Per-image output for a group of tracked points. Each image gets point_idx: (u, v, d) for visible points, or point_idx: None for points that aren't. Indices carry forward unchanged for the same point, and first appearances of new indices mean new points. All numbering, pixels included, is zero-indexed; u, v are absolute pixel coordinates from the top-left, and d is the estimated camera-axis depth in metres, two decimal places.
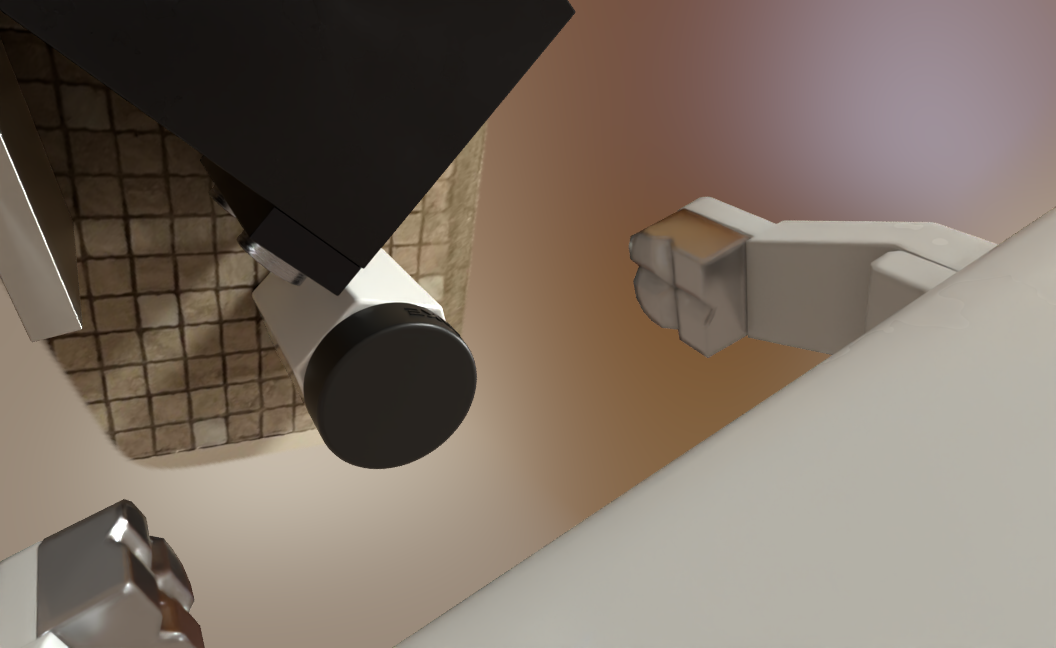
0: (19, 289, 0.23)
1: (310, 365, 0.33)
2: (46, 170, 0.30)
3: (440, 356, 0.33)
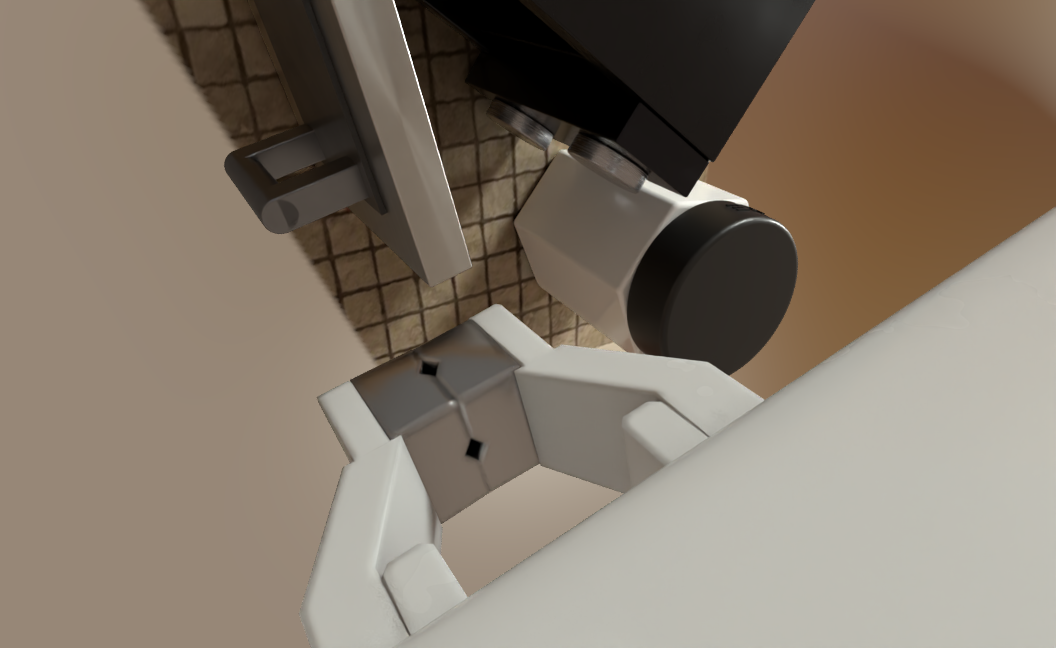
0: (422, 230, 0.21)
1: (636, 282, 0.30)
2: None
3: (770, 252, 0.30)
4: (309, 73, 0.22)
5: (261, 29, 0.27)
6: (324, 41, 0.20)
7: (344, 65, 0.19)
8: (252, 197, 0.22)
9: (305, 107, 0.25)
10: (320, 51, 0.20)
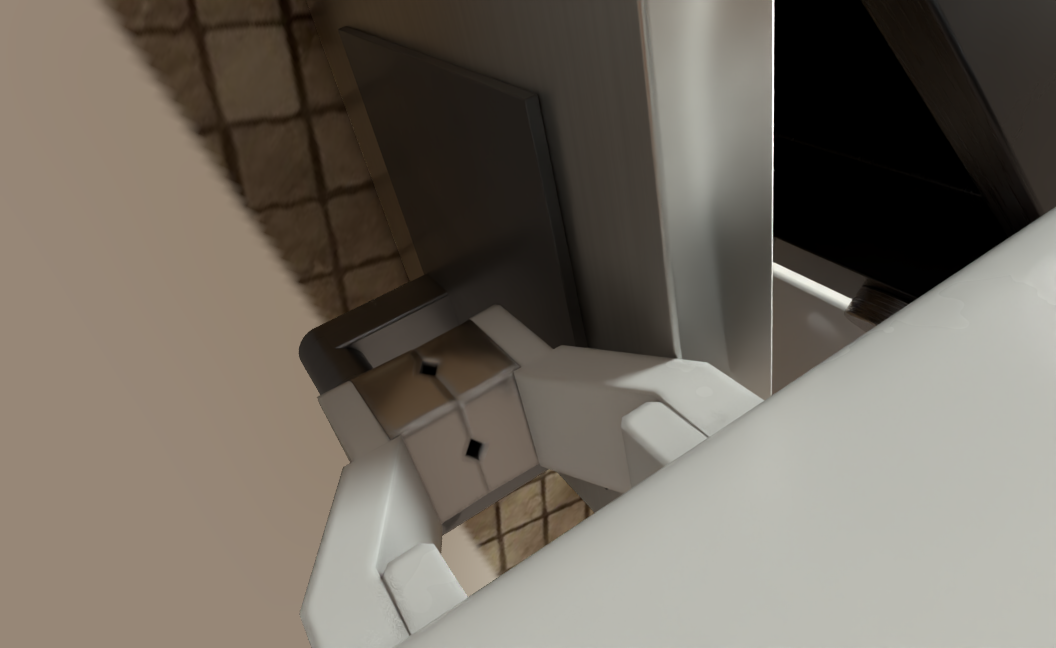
0: None
1: None
2: None
3: None
4: (481, 237, 0.12)
5: (355, 121, 0.16)
6: (562, 215, 0.09)
7: (623, 279, 0.09)
8: None
9: (439, 261, 0.15)
10: (549, 232, 0.09)
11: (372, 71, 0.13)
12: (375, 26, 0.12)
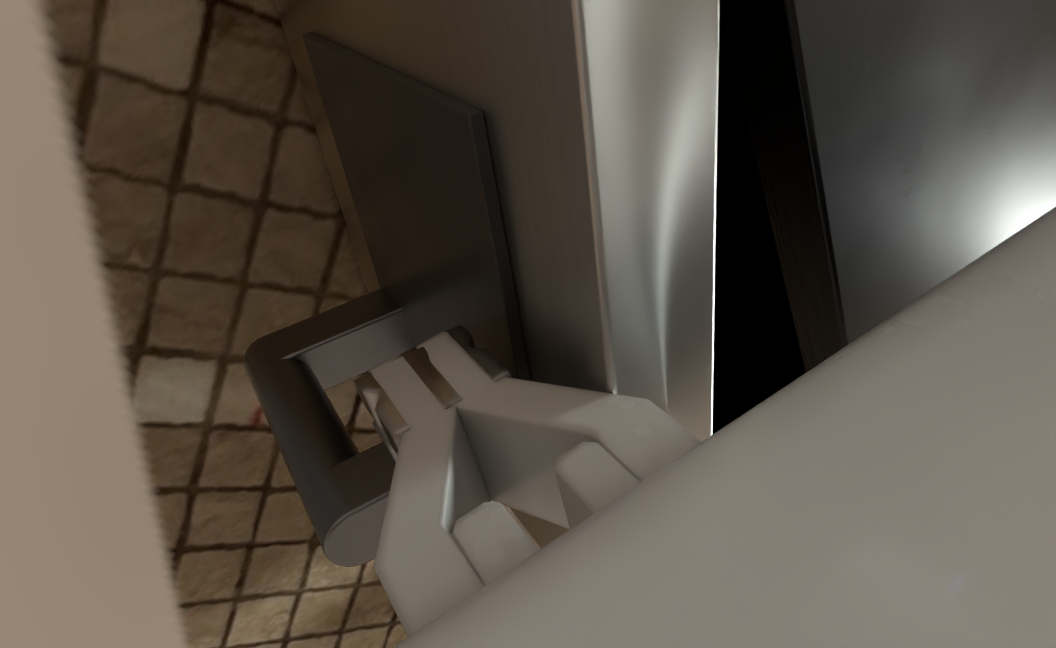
0: None
1: None
2: None
3: None
4: (431, 254, 0.11)
5: (319, 129, 0.16)
6: (505, 235, 0.09)
7: (561, 306, 0.08)
8: (303, 481, 0.12)
9: (393, 276, 0.15)
10: (492, 253, 0.09)
11: (332, 79, 0.12)
12: (337, 33, 0.12)
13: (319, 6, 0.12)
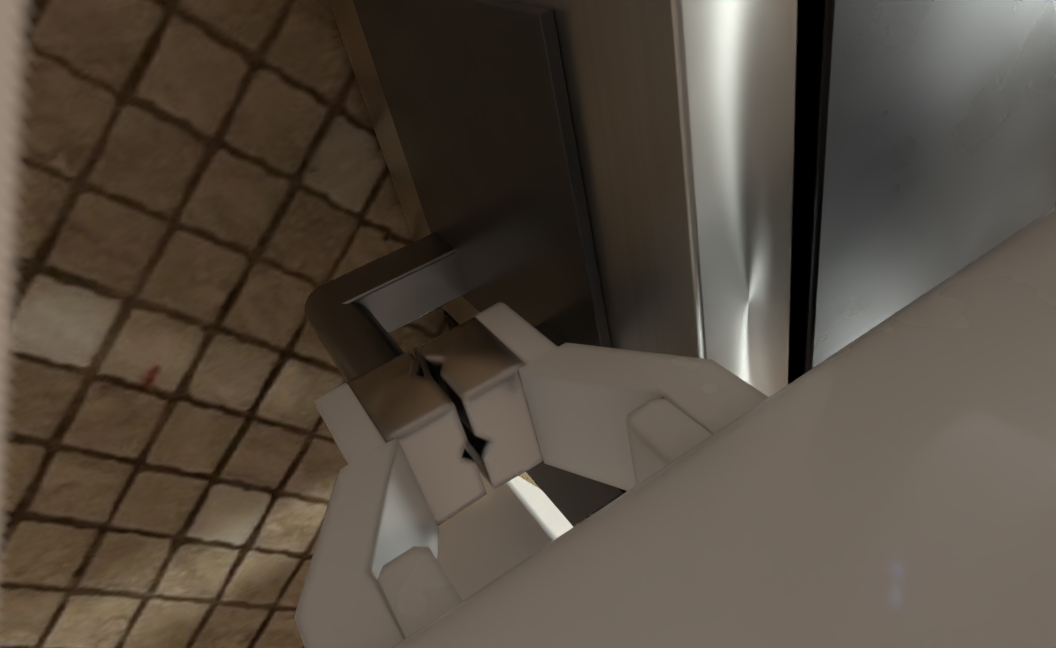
0: None
1: None
2: None
3: None
4: (491, 180, 0.12)
5: (361, 77, 0.16)
6: (577, 141, 0.09)
7: (640, 203, 0.08)
8: None
9: (447, 216, 0.15)
10: (563, 161, 0.09)
11: (380, 15, 0.12)
12: None
13: None
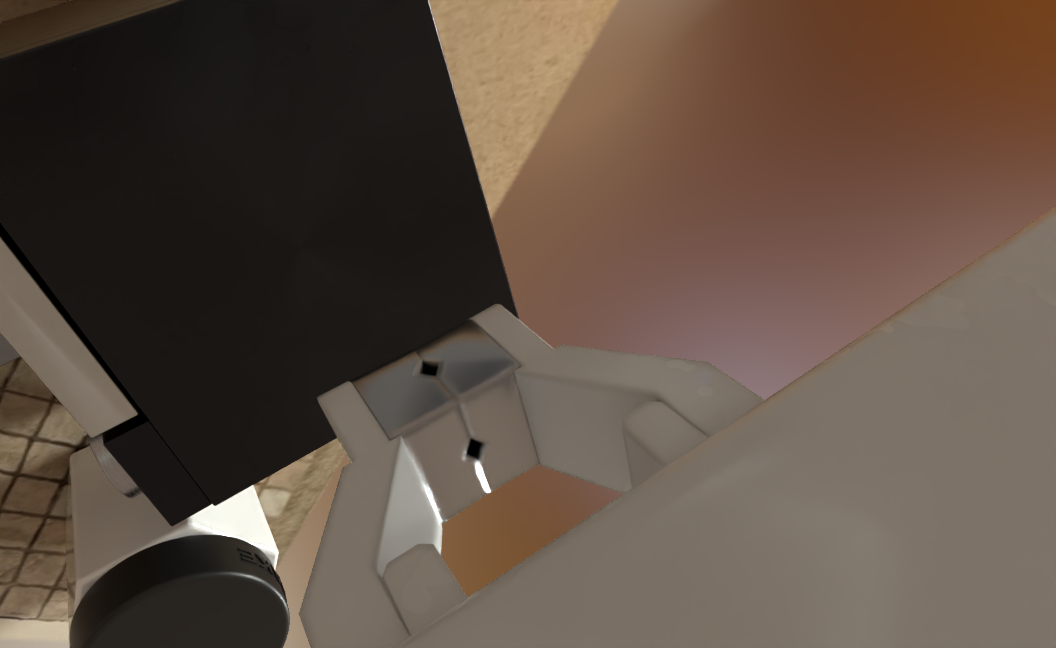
0: (64, 389, 0.22)
1: (100, 583, 0.27)
2: None
3: (254, 615, 0.29)
4: None
5: None
6: None
7: None
8: None
9: None
10: None
11: None
12: None
13: None
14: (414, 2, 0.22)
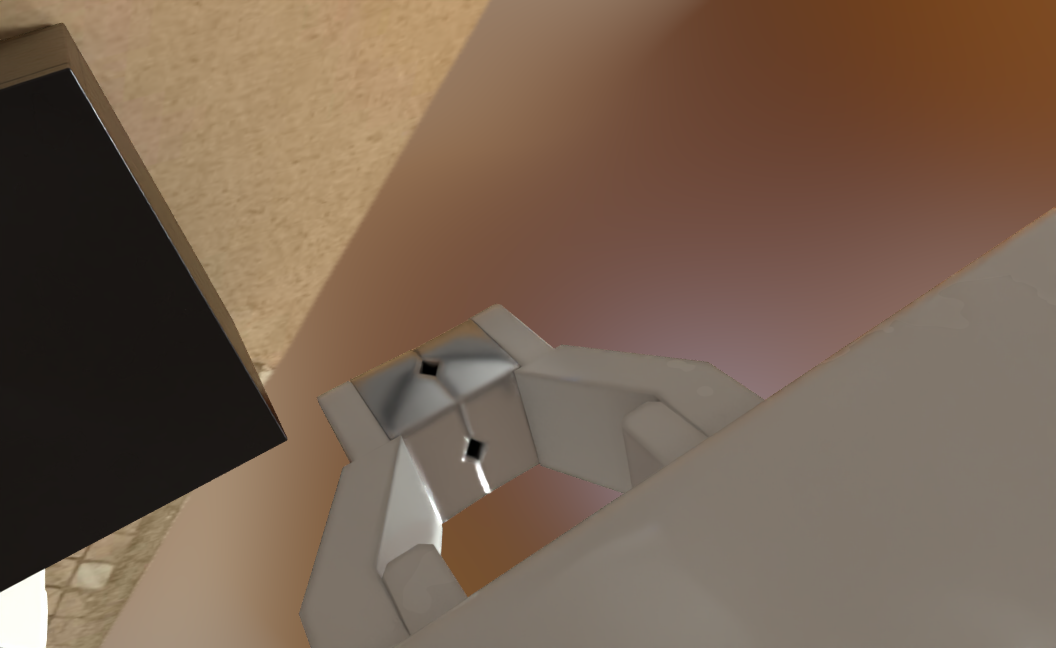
0: None
1: None
2: None
3: None
4: None
5: None
6: None
7: None
8: None
9: None
10: None
11: None
12: None
13: None
14: (90, 138, 0.22)
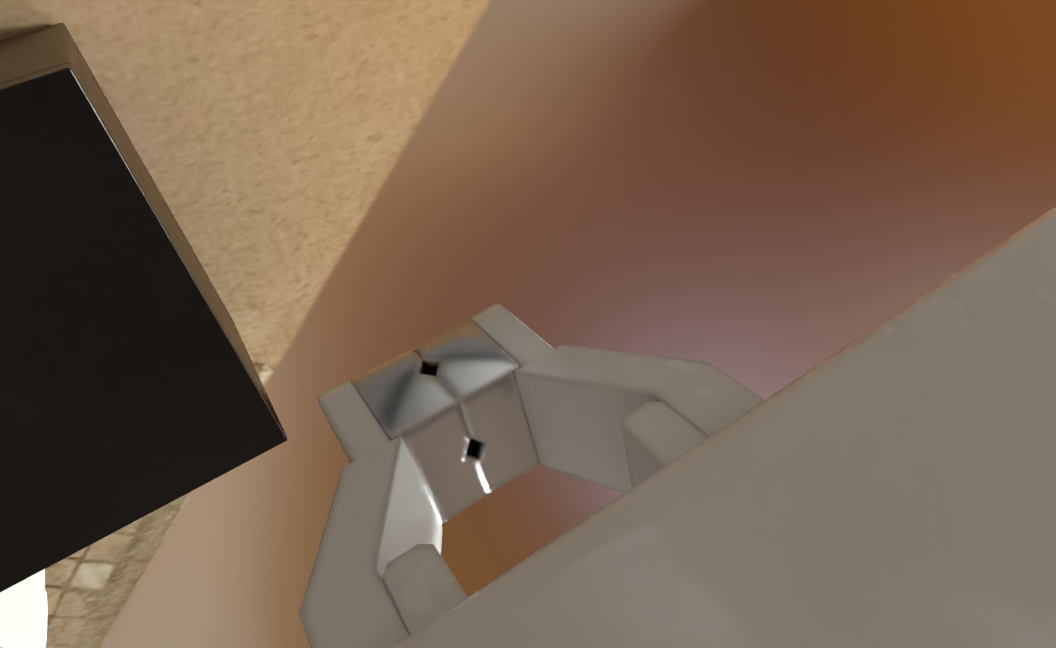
0: None
1: None
2: None
3: None
4: None
5: None
6: None
7: None
8: None
9: None
10: None
11: None
12: None
13: None
14: (90, 138, 0.22)
